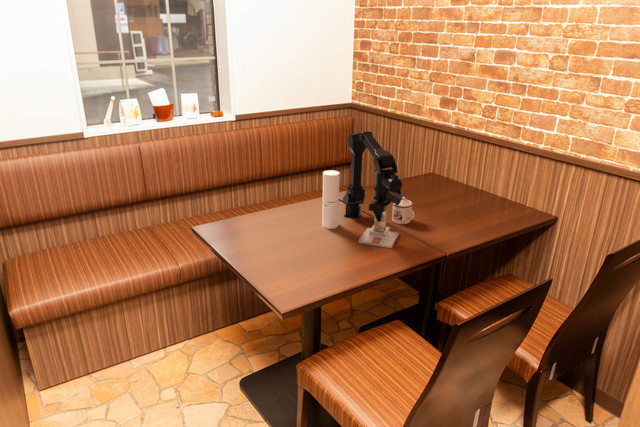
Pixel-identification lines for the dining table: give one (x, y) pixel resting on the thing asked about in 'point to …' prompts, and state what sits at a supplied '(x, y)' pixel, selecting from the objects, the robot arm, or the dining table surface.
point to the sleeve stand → (379, 237)
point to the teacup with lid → (402, 212)
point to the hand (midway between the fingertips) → (380, 219)
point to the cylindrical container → (330, 199)
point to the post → (380, 223)
